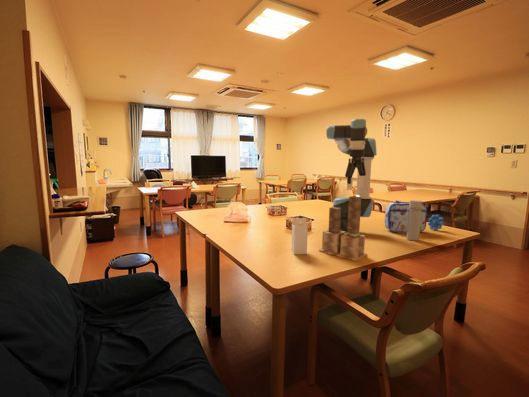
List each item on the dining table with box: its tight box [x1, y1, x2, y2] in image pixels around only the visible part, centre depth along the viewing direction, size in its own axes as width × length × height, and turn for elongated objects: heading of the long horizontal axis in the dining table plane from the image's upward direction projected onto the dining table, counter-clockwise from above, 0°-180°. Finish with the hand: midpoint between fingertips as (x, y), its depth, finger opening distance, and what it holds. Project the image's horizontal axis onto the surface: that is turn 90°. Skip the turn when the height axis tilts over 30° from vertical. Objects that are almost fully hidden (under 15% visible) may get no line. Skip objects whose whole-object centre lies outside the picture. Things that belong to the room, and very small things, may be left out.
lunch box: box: [384, 199, 428, 234], centre depth 199 cm, size 28×10×22 cm, turn 88°
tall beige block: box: [404, 199, 423, 242], centre depth 179 cm, size 9×8×25 cm
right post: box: [346, 195, 361, 238], centre depth 147 cm, size 5×5×23 cm
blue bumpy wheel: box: [427, 214, 445, 231], centre depth 204 cm, size 12×7×12 cm, turn 23°
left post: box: [328, 206, 341, 234], centre depth 156 cm, size 5×5×23 cm
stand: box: [318, 229, 368, 262], centre depth 153 cm, size 22×12×11 cm, turn 47°
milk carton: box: [291, 217, 309, 255], centre depth 154 cm, size 7×7×19 cm
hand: (355, 188), depth 155 cm, fingers open, 13 cm apart
